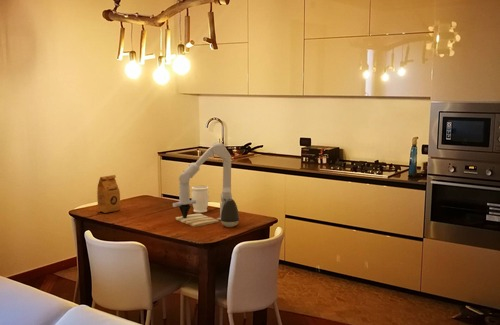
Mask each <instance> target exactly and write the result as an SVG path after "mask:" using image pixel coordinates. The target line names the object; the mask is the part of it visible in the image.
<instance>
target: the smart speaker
mask: <svg viewBox="0 0 500 325" xmlns="http://www.w3.org/2000/svg"><path fill="white" fill-rule="evenodd" d="M224 201H225V203H224V205H223V208H222V211H221V220H220V222H221V224H222V225H223V226H224V227H226V228H234V227H236V226H237V225H238V224H239V222H240V212H239V208H238V205H237V203H236V201H235V199H233V198H232V199H227V200H226V199H224Z"/></svg>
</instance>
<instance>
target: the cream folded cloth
mask: <svg viewBox="0 0 500 325" xmlns="http://www.w3.org/2000/svg"><path fill="white" fill-rule="evenodd" d="M207 217H209V216H207V215H204V214H202V213H197V212H196V213H192V214H187V218H183V216H175V220H176V221H179V222H181V223H184V224H186V221H191V220H196V219H202V218H207Z"/></svg>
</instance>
